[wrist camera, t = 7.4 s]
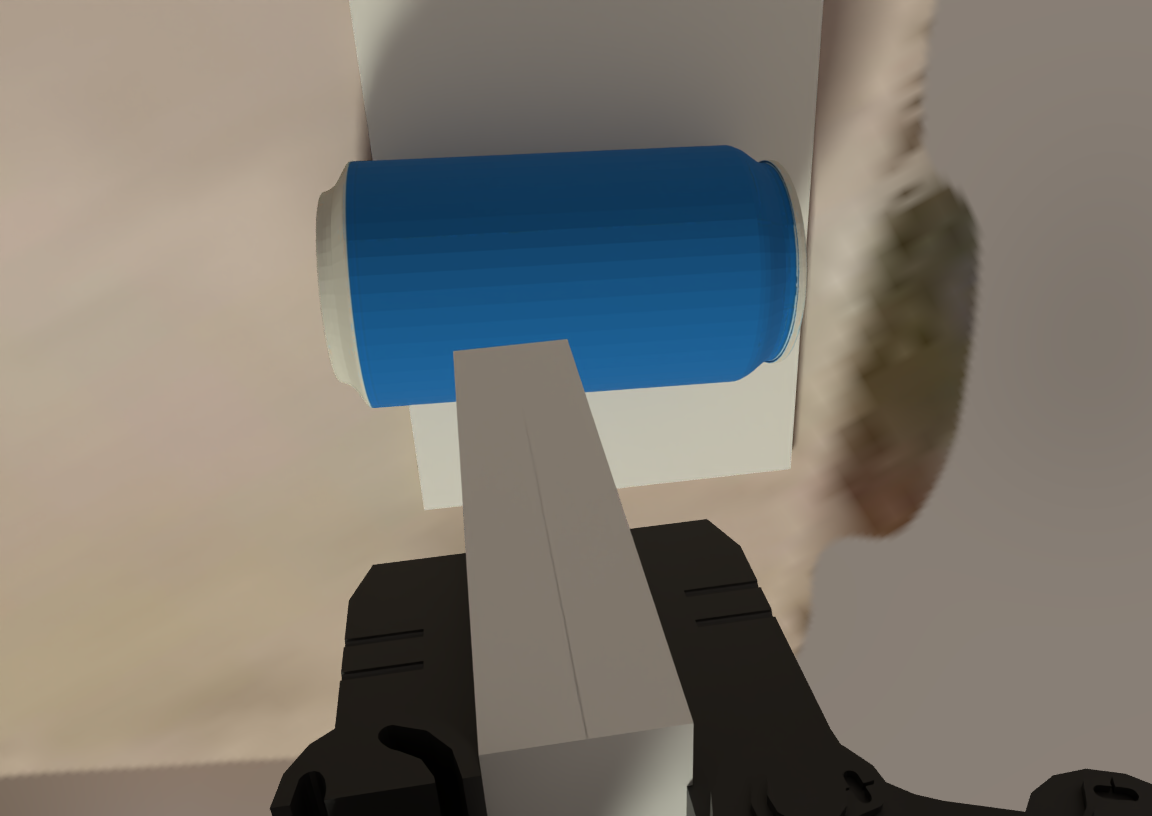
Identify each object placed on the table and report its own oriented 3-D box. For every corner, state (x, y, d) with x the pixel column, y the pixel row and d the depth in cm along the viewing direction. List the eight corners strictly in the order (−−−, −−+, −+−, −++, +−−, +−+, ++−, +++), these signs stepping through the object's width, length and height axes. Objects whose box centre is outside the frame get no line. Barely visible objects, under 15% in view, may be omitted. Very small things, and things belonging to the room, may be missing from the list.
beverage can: (354, 299, 29) (725, 276, 30) (347, 459, 25) (779, 426, 26) (318, 113, 24) (761, 96, 26) (301, 273, 20) (835, 243, 21)
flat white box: (311, -270, 22) (307, -275, 22) (835, -288, 23) (844, -292, 23) (424, 500, 32) (424, 510, 32) (784, 460, 34) (790, 469, 33)
